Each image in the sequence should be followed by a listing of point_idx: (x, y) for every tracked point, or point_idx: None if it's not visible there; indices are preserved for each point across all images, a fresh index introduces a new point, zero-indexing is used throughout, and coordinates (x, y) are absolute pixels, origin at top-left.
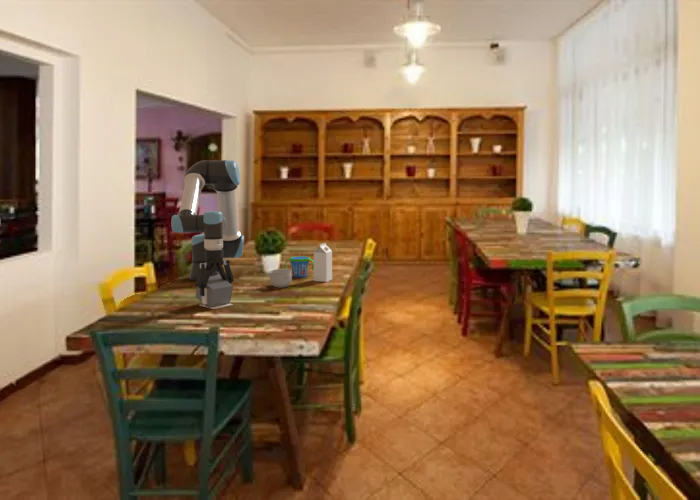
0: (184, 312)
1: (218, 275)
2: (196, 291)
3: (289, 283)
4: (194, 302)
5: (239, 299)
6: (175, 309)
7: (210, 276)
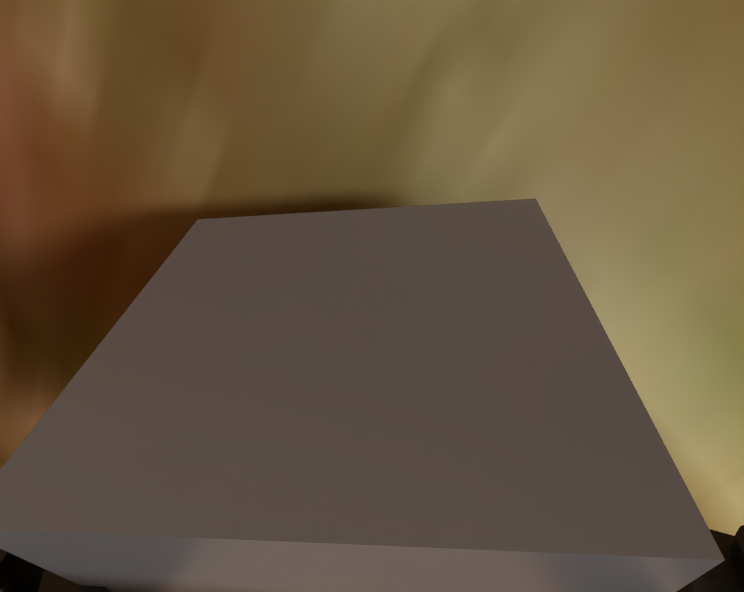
0: (72, 374)
1: (665, 567)
2: (158, 276)
3: None
4: (276, 82)
5: (714, 327)
6: (22, 235)
7: (350, 544)
